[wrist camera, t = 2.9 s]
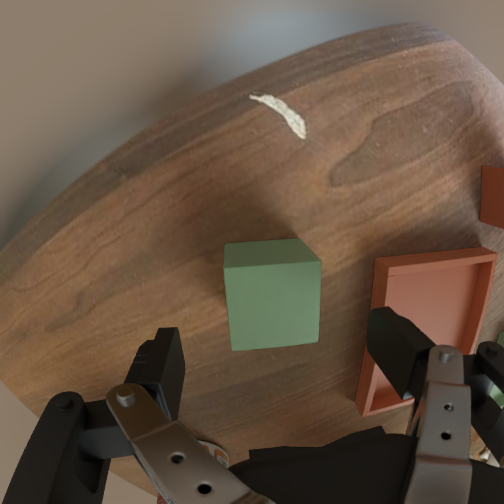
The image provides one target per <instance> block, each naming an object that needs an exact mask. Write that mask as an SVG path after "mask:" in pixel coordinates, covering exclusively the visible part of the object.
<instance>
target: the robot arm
mask: <svg viewBox="0 0 504 504" xmlns="http://www.w3.org/2000/svg"><path fill="white" fill-rule="evenodd" d="M366 346H367V350H368V353H369V354H370V356H371V357H372V359H373V360H374V361H375V363H376V364H377V366H378V367H379V368H380V370H381V371H382V373H383V374H384V375H385V377H386V378H387V380H388V381H389V382H390V384H391V385H392V387H393V388H394V390H395V391H396V392H397V394H398V395H399V397H400V398H401V400H405V399H408V398H411V397H413V398H414V402H413V405H412V409H411V413H410V417H409V422H408V426H407V430H406V433H405V435H404V434H386V433H385V432H384V430H383V428H382V426H378V427H374V428H371V429H367V430H363V431H359V432H355V433H352V434H349V435H347V436H345V437H343V438H341V439H339V440H336V441H334V442H332V443H330V444H327V445H325V446H322V447H289V446H281V447H273V448H264V449H254V450H249V457H250V459H248V460H245V461H242V462H239V463H237V464H234V465H232V466H230V467H228V468H226V467H225V466H224V465H222V464H221V463H220V462H219V461H218V460H217V459H216V458H215V457H214V456H213V455H212V454H211V453H210V452H209V451H208V450H207V449H206V448H205V447H204V446H203V445H202V444H201V443H200V442H199V441H198V440H197V439H196V438H195V437H194V436H193V435H192V434H191V433H190V432H189V431H188V430H187V429H186V428H185V427H184V426H183V425H182V424H181V423H180V422H179V421H178V420H177V418H178V412H179V405H180V399H181V393H182V387H183V382H184V376H185V360H184V355H183V350H182V345H181V340H180V335H179V331H178V328H177V327H170V328H159V329H158V331H157V333H156V336H155V339H154V340H147V341H146V342H144V343H143V344H142V345H141V346H140V347H139V349H138V351H137V353H136V356H135V358H134V360H133V363H132V365H131V367H130V370H129V372H128V374H127V377H126V379H125V381H124V384H121V385H118V386H116V387H114V388H112V389H111V390H110V391H109V392H108V394H107V396H106V399H105V400H100V401H93V402H86V403H85V402H84V400H83V398H82V397H81V395H79V394H78V393H76V392H71V391H68V392H62V393H59V394H57V395H55V396H54V397H53V398H51V400H50V401H49V402H48V404H47V406H46V408H45V410H44V412H43V414H42V415H41V417H40V419H39V421H38V423H37V425H36V427H35V429H34V431H33V433H32V435H31V437H30V439H29V441H28V443H27V446H26V448H25V450H24V452H23V454H22V456H21V459H20V461H19V463H18V465H17V467H16V470H15V472H14V474H13V477H12V479H11V482H10V484H9V487H8V489H7V492H6V494H5V497H4V500H3V502H2V504H102V500H103V495H104V490H105V484H106V480H107V475H108V471H109V466H110V462H111V458H116V457H123V456H130V455H133V456H134V457H135V459H136V460H137V462H138V463H139V465H140V466H141V468H142V469H143V471H144V472H145V474H146V475H147V476H148V478H149V479H150V481H151V482H152V483H153V485H154V486H155V487H156V489H157V490H158V491H159V493H160V494H161V496H162V497H163V498H164V500H165V501H166V502H167V504H504V407H503V409H501V408H500V406H499V405H498V404H497V403H496V402H495V401H494V399H493V398H492V397H491V396H490V392H491V390H492V388H493V386H494V384H495V385H496V386H497V387H498V389H499V390H500V391H501V392H502V393H503V394H504V347H503V346H501V345H500V344H498V343H495V342H491V341H486V342H482V343H480V344H479V345H478V348H477V351H476V354H470V355H462V353H461V351H460V350H458V349H457V348H455V347H453V346H450V345H444V344H441V345H436V344H435V343H434V342H433V341H432V340H431V339H430V338H429V337H428V336H427V335H426V334H425V333H423V332H421V330H420V329H419V328H418V327H416V325H415V324H414V323H413V322H411V321H410V320H409V319H407V318H405V317H403V316H401V315H398V314H397V313H396V312H395V311H394V310H392V309H391V308H390V307H389V306H385V307H379V308H373V309H372V310H371V311H370V316H369V324H368V331H367V338H366ZM471 425H472V426H473V428H474V429H475V430H476V432H477V433H478V435H479V436H480V437H481V439H482V440H483V442H484V443H485V445H486V446H487V447H488V449H489V450H490V452H491V453H492V455H493V456H494V458H495V459H496V461H497V462H498V464H499V467H496V466H493V465H490V464H486V463H483V462H480V461H477V460H474V459H471V458H469V450H470V433H471Z"/></svg>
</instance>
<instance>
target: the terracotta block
mask: <svg viewBox="0 0 504 504" xmlns="http://www.w3.org/2000/svg"><path fill="white" fill-rule="evenodd" d="M480 222H483V223H486V224H490V225H493V226H496V227H499V228H502V229H504V168H497V167H487V166H482V184H481V209H480Z"/></svg>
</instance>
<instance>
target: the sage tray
mask: <svg viewBox="0 0 504 504" xmlns="http://www.w3.org/2000/svg"><path fill="white" fill-rule="evenodd" d="M497 343H498V344H500V345H501V346H503V347H504V331H503V332H500V334H499V337H498V340H497ZM490 396H491V397H492V398H493V399H494V401H495V402H496V403H497V404H498V405H499V406H500V408H503V407H504V394H503V393H502V392H501V391H500V390H499V389H498V387H497V386H496V385H495V384H494V386H493V388H492V390H491V392H490ZM471 426H472V425H471Z"/></svg>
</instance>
